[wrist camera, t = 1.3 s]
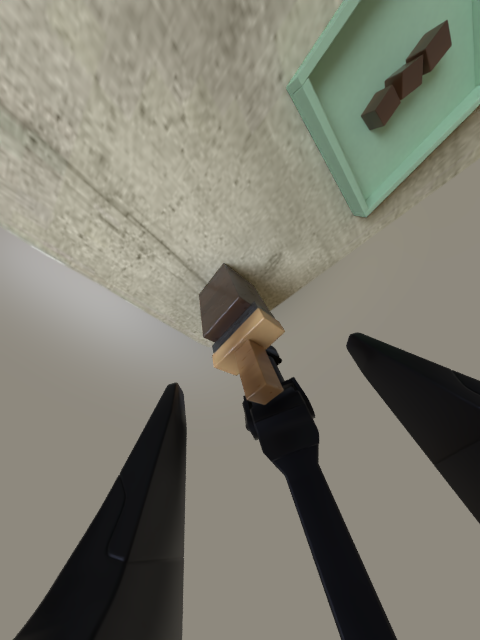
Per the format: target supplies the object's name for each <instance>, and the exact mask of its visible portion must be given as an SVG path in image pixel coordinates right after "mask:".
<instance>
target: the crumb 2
mask: <svg viewBox="0 0 480 640" xmlns="http://www.w3.org/2000/svg"><path fill="white" fill-rule="evenodd" d="M422 75H423V55H421V56H419V57H417V58H415V59H414V60H412V61H410V62H408V63H406V64H405V65H403V66H402V67H401V68H399V69H398V70H397V71H396V72H394V73H393V74H392V75H391V76H390V77H388V78H387V79H386V80H385V88H386V87H388V86H390V85H393V87H394V89H395V91H396V93H397V95H398V97H399V99H400V100H403V99H404V98H405V97H406V96H408V95H409V94H410V93H411V92H413V91H414V90H415V89H417V88H418V87H419V86H420V85H421V84H422Z"/></svg>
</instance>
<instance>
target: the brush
mask: <svg viewBox="0 0 480 640" xmlns="http://www.w3.org/2000/svg"><path fill="white" fill-rule="evenodd" d="M284 332H285V331H284V329H283V327H282V326H281V324H280V323H279V322H278V321H277V320H276V319H275V318H274V316H273V315H272V314H271V313H270V312H269V311H267V310H266V309H264V308H263V307H262V306H260V305H259V304H257V303H256V302H253V303H252V304H251V305H250V306H249V307H248V308H247V309H246V310H245V311H244V312H243V313H242V314H241V316H240V317H239V318H238V319H237V320H236V321H235V322H234V323H233V324H232V325H231V326H230V327H229V328H228V329H227V331H226V332H225V333H224V334H223V335H222V336H221V337H220V338H219V339H218V340H217V341H216V342H215V343H214V344H213V346H212V347H213V353H214V354H213V355H212V357H213V364H214V368H217V369H219V370H222V371H225V372H227V373H230V374H233V375H236V376H237V375H238V374H240V378H241V381H242V385H243V389H244V392H245V396H246V399H247V400H249V401H253V402H256V403H260V404H263V405H266V404H267V403H268V402H269V401H271V400H272V399H273V398H275V397H276V396H277V395H279V394H280V393H281V392H282V391H283V388H282V385H281V383H280V381H279V379H278V377H277V375H276V373H275V370H274V368H273V366H272V364H271V362H270V360H269V357H268V355H267V353H266V351H265V350H266V349H267V348H268V347H269V346H270V345H271V344H272V343H273V342H274V341H276V339H278V338H279V337H280V336H281V335H282V334H283V333H284Z"/></svg>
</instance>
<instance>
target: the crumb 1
mask: <svg viewBox="0 0 480 640" xmlns="http://www.w3.org/2000/svg"><path fill="white" fill-rule="evenodd" d="M400 103H401V101H400V99H399V97H398V95H397V93H396V91H395V89H394V87H393V85H390V86H388V87H386V88H384V89H382V90H380V91H378V92H376V93H375V94H374V96H373V97H372V99H371V101H370V102H369V104H368V105H367V107H366V108H365V110H364V111H363V113H362V114H361V117H362V119H363V121H364V122H365V124H366V126H367V127H368V129H369V130H373V129H376V128H380V127H383V126H385V125H386V123H387V122H388V120H389V119H390V118H391V116H392V115H393V113H394V112H395V110H396V109H397V108H398V106H399V105H400Z"/></svg>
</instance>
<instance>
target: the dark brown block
mask: <svg viewBox="0 0 480 640" xmlns="http://www.w3.org/2000/svg"><path fill="white" fill-rule="evenodd" d="M199 300H200V310H201V320H202V330H203V337H204V338H206V339H208V340H211V341H213V342H216V341H217V340H218V339H219V338H220V337H221V336H222V335H223V334H224V333H225V332H226V331H227V329H228V328H229V327H230V326H231V325H232V324H233V323H234V322H235V321H236V320H237V319H238V318H239V317H240V316H241V314H242V313H243V312H244V311H245V310H246V309H247V308H248V307H249V306H250V305H251V304H252V303H253V302H256V303H257V304H259V305H260V306H262V307H263V308H264V309H266V310H267V311H269V309H268V307H267V306H266V304H265V303H264V301H263V300H262V298H261V297H260V295H259V294H258V292H257V290H256V289H255V287H254V286H253V285H252V284H250V283H249V282H248V281H247V280H245V279H244V278H243V277H241V276H240V275H239V274H238V273H236V272H235V271H234V270H232V269H231V268H230V267H229V266H227V265H226V264H225V263H223V265H222V266H221V267H220V269H219V270H218V271H217V272H216V274H215V275H214V276H213V277H212V279H211V280H210V281H209V283H208V284H207V285H206V286H205V288H204V289H203V290H202V291H201V293H200V294H199ZM269 312H270V311H269ZM270 313H271V312H270Z"/></svg>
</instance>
